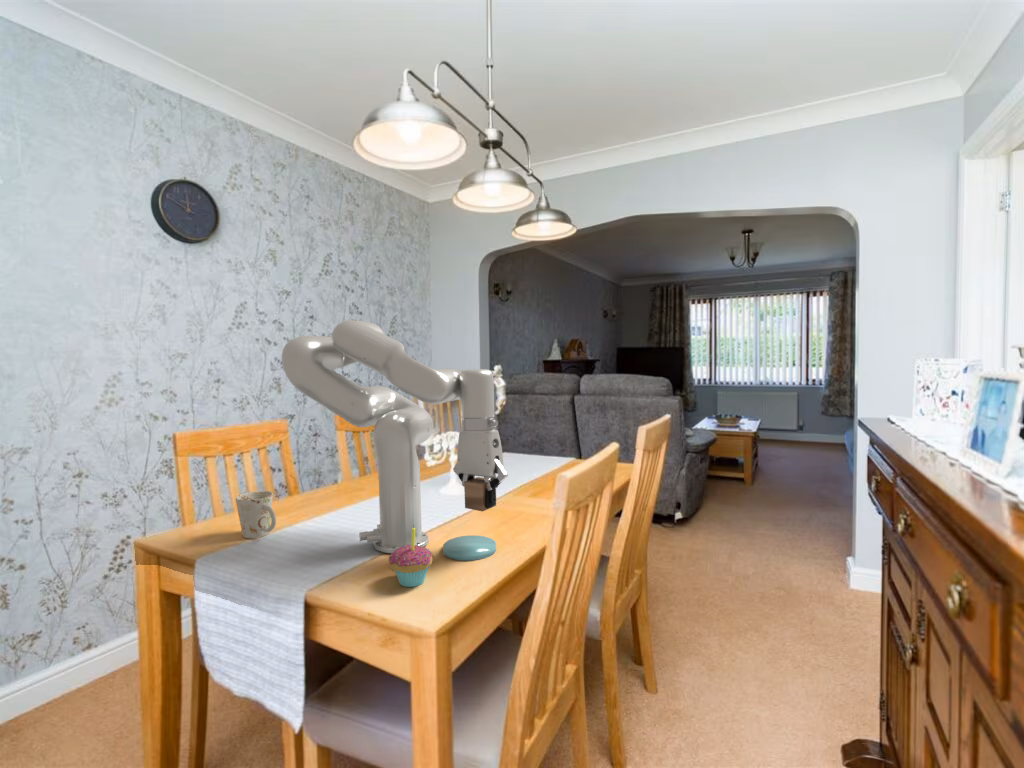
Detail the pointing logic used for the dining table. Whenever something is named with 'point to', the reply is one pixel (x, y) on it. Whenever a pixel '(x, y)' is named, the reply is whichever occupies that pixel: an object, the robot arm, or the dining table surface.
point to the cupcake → (410, 563)
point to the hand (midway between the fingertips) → (480, 503)
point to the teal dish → (469, 548)
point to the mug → (256, 513)
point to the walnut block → (475, 494)
